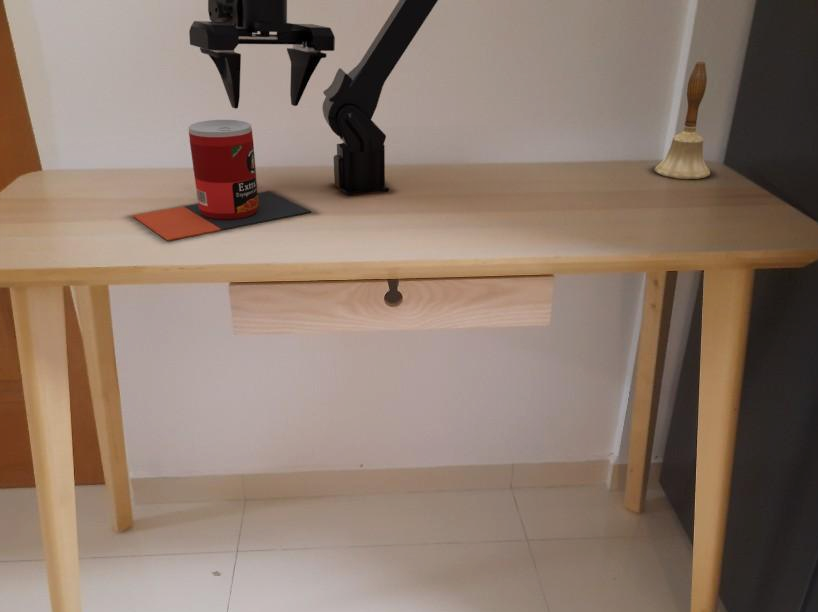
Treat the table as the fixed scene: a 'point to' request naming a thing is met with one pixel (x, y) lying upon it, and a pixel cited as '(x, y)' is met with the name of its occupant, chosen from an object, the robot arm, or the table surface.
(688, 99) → the hand bell
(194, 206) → the mat
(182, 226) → the pad
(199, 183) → the canned food
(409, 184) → the table surface
